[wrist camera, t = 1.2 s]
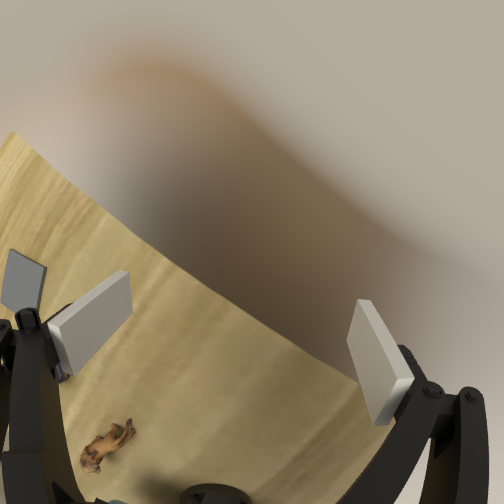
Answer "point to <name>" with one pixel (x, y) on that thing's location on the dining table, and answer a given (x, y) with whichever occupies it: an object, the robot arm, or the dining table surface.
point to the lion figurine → (103, 448)
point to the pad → (22, 282)
